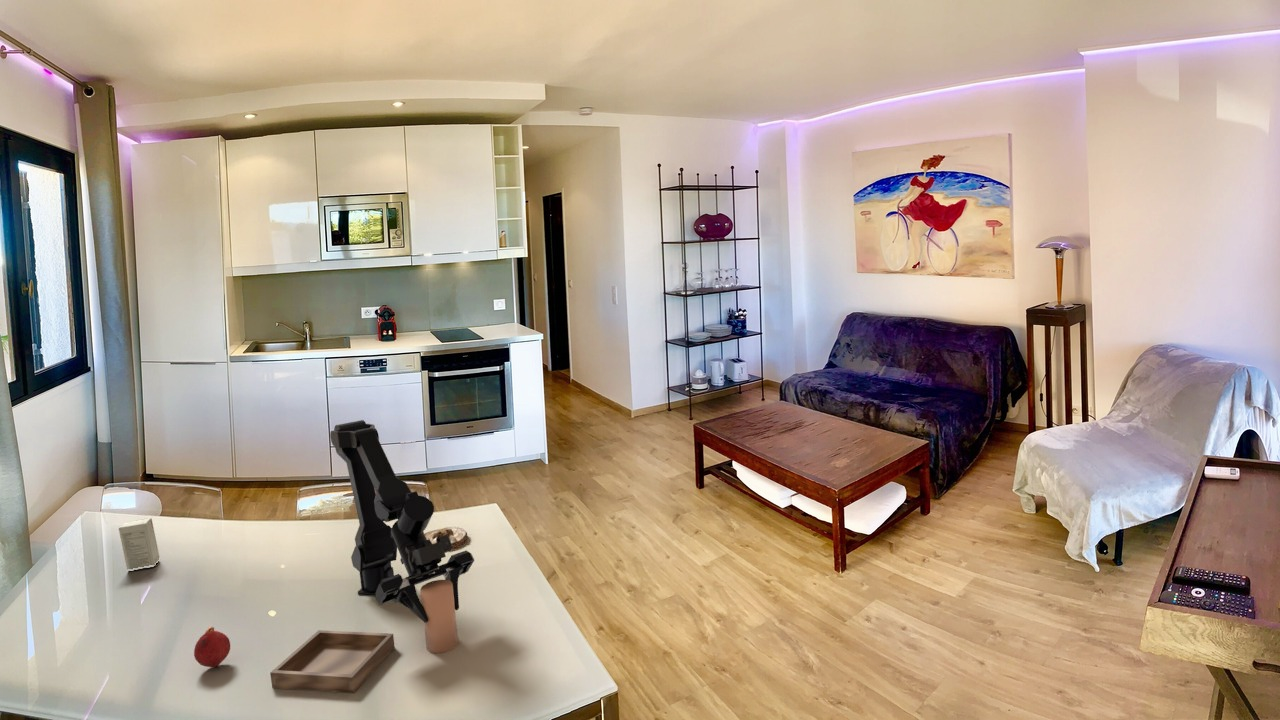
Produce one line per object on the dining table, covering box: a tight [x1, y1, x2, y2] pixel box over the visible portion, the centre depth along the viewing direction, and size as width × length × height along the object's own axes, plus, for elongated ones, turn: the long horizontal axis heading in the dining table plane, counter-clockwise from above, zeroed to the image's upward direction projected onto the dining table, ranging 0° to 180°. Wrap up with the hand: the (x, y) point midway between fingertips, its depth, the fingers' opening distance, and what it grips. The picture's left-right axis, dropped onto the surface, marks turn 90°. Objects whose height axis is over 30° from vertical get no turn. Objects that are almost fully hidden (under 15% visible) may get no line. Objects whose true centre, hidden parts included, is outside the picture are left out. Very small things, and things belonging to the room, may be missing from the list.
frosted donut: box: [424, 526, 468, 550], centre depth 184 cm, size 15×15×4 cm
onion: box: [193, 626, 231, 668], centre depth 130 cm, size 6×6×8 cm
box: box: [269, 630, 396, 694], centre depth 128 cm, size 16×14×3 cm
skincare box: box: [118, 517, 160, 570], centre depth 177 cm, size 6×4×12 cm
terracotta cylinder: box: [420, 579, 459, 654], centre depth 134 cm, size 6×6×12 cm
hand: (442, 615), depth 132 cm, fingers closed on terracotta cylinder, 6 cm apart
